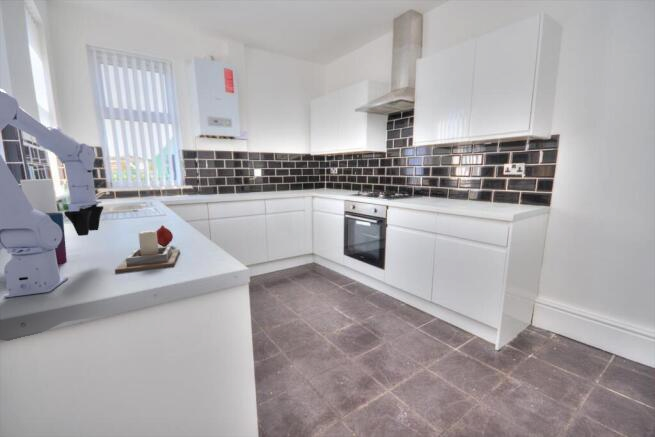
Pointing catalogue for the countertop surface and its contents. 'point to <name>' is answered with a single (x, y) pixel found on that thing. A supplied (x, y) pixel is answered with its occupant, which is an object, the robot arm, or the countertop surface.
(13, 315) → the countertop surface
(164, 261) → the holder
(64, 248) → the cup
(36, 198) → the cylindrical container
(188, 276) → the countertop surface
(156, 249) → the roll
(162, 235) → the red round fruit
